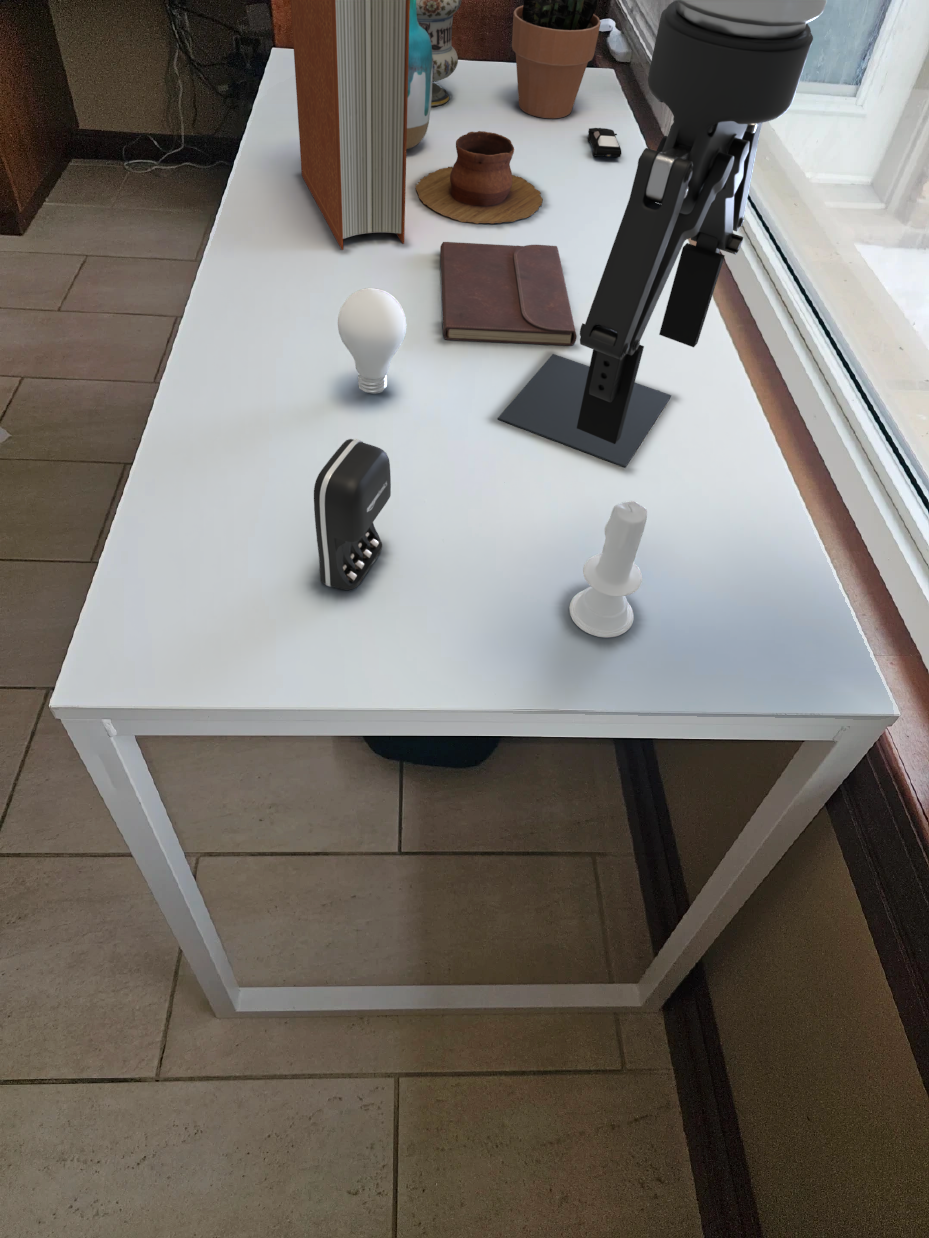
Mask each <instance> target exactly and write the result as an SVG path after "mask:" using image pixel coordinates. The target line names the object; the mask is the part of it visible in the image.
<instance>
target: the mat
mask: <svg viewBox="0 0 929 1238" xmlns="http://www.w3.org/2000/svg"><path fill="white" fill-rule="evenodd" d="M589 367H590V365H586V364H584V363H581V362H578V361H575V360H573V359H569V358H566V357H563V356H561V355H558V354H555V353H552V354H551V355H550V357H549V358H548V359H547V360H546V361H545V362H544V364H542V366H541V367H540V368H539V369H538V370H537V372H535V374H534V375H533V376H532V377H531V379H530V380H529V381H528V382H527V383H526V384H525V386H524V387H522V389H521V390H520V391H519V393H518V394H517V395H516V396H515V397H514V398H513V400H511V402H510V403H509V404H508V405H507V406H506V408H504V410H503V411H502V412H501V414H499V416H498V417H497V420H498V421H500V422H504V423H505V424H509V425H512V426H514V427H516V428H518V429H519V428H520V429H521V430H522V429H523V430H524V431H527V432H530V433H533V434H535V435H537V436H540V437H543V438H546V439H549V440H551V441H554V442H556V443H559V444H561V445H564V446H567V447H569V448H572V449H575V450H577V451H580V452H583V453H585V454H588V455H590V456H593V457H596V458H598V459H602V460H604V461H607V462H609V463H612V464H615V465H617V466H620V467H622V468H627V466H628V464H629V463H630V462H631V460H632V458H633V457H634V455H635V454H636V452H637V450H638V449H639V447H640V446H641V444H642V443H643V441H644V440H645V438H646V437H647V435H648V433H649V432H650V430H651V429H652V427H653V425H654V424H655V423H656V421H657V419H658V418H659V417H660V415H661V413H662V411H664V409H665V407H666V405H667V404H668V402H669V401H670V399H671V397H672V394H669V393H666V392H663V391H660V390H658V389H654V388H652V387H649V386H646V385H644V384H641V383H639V382H638V383H637V382H635V383H634V387H633V391H632V395H631V398H630V402H629V406H628V410H627V414H626V418H625V421H624V425H623V429H622V433H621V437H620V439H619V440H618V441H617V443H616V444H613V443H611V442H608V441H606V440H604V439H601V438H599V437H596V436H594V435H592V434H589V433H587V432H584V431H582V430H580V429H577V423H578V419H579V414H580V409H581V404H582V400H583V395H584V390H585V386H586V381H587V376H588V371H589Z"/></svg>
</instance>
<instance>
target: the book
mask: <svg viewBox="0 0 929 1238" xmlns="http://www.w3.org/2000/svg"><path fill="white" fill-rule="evenodd" d="M290 12H291V14H290V15H291V28H292V30H291V31H292V45H293V60H294V74H295V75H294V78H295V91H296V92H295V93H296V106H297V107H296V108H297V123H298V136H299V137H298V138H299V152H300V153H299V154H300V168H301V177H302V179H303V181H304V183H305V184H306V186H307V188H308V190H309V192H310V193H311V196H312V197H313V199H314V201H315V203H316V205H317V206H318V209H319V211H320V212H321V215H322V216H323V218H324V220H325V222H326V223H327V226H328V227H329V229H330V231H331V233H332V235H333V236H334V238H335V240H336V242H337V244H338V245H339V248H340V250H341V251H343V250H344V240H345V239H348V238H350V237H353V236H358V235H364V234H372V233H373V234H375V233H388V234H395V235H396V236H397V237H398V239H399V240H400V242H401V244H402V245H405V231H406V228H405V227H406V226H405V224H406V223H405V222H406V185H407V184H406V183H407V149H406V146H407V103H408V60H409V17H410V0H290Z"/></svg>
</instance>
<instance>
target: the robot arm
mask: <svg viewBox="0 0 929 1238" xmlns="http://www.w3.org/2000/svg"><path fill="white" fill-rule="evenodd" d="M827 3H828V0H674V1H672V2H671V3H669V4H668V5H667V6H666V8H665V9H664V10H662V12H661V14H660V19H659V23H658V27H657V32H656V37H655V42H654V47H653V52H652V57H651V60H650V66H649V70H648V76H647V84H648V88H649V91H650V92H651V94H652V95H653V97H654V98H655V99H657V101H659V102H660V103H663V104H665V105H666V106H667V108H668V109H669V111H670V112H671V114H672V117H673V119H672V120H673V123H672V124H671V125H670V127H669V131H668V134H667V135H663V137H662V138H661V140H660V142H659V144H658V147H657V149H652V148H649V147H646V148H644V149H643V151H642V152H641V154H640V156H639V158H638V161H637V167H636V171H635V174H634V179H633V183H632V187H631V190H630V195H629V198H628V202H627V205H626V208H625V210H624V212H623V216H622V219H621V221H620V224H619V226H618V230H617V232H616V236H615V238H614V241H613V244H612V247H611V249H610V252H609V255H608V258H607V260H606V264H605V267H604V269H603V271H602V275H601V278H600V281H599V284H598V286H597V289H596V292H595V295H594V298H593V301H592V303H591V306H590V309H589V311H588V314H587V317H586V320H585V323H582V322H581V326H580V329H579V344H580V345H581V346H583V347H586V348H588V349H591V350H592V354H591V356H590V357H591V358H590V361H589V362H590V363H589V371H588V376H587V381H586V386H585V390H584V395H583V400H582V404H581V409H580V414H579V419H578V423H577V429H580V430H582V431H584V432H587V433H589V434H592V435H594V436H596V437H599V438H601V439H604V440H606V441H608V442H611V443H613V444H616V443H617V441H618V440H619V439H620V437H621V433H622V429H623V425H624V421H625V418H626V414H627V410H628V406H629V402H630V398H631V395H632V391H633V387H634V383H636V378H637V375H638V372H639V368H640V363H641V360H642V356H643V353H644V348H645V345H642V344H641V340H642V337H643V335H644V333H645V330H646V329H647V326H648V324H649V322H650V319H651V317H652V315H653V314H654V311H655V309H656V306H657V304H658V301H659V300H660V297H661V295H662V293H663V290H664V288H665V286H666V284H667V281H668V279H669V277H670V274H671V272H672V271H673V268H674V266H675V264H676V261H677V259H678V258H679V260H678V264H677V267H676V270H675V271H676V272H675V274H674V275H675V276H674V278H673V282H672V286H671V289H670V293H669V297H668V301H667V303H666V307H665V312H664V315H663V318H662V323H661V326H660V330H659V333H658V336H661V337H664V338H667V339H669V340H672V341H675V342H677V343H681V344H683V345H686V346H688V347H692V348H695V347H696V346H697V344H698V343H699V339H700V336H701V333H702V330H703V327H704V323H705V320H706V318H707V314H708V312H709V311H708V310H709V307H710V305H711V302H712V298H713V295H714V292H715V289H716V286H717V282H718V278H719V276H720V273H721V269H722V267H723V264H724V259H725V258H726V257H725V256H726V255H724V254H722V253H720V252H721V251H723V252H726V253H729V254H732V255H735V256H736V255H737V254H738V253H739V251H740V249H741V246H742V244H743V241H744V236H743V235H740V234H736V233H737V232H738V231H739V230H740V228H741V227H742V226H743V225H744V223H745V213H746V209H747V204H748V203H747V202H748V198H749V193H750V187H751V183H752V178H753V173H754V172H753V171H754V166H755V163H756V162H755V161H756V156H757V150H758V146H759V141H760V135H761V130H762V126H763V123H768V122H771V121H773V120H776V119H778V118H780V117H781V116H783V115H784V114H786V113H787V111H788V110H789V109H790V108H791V106H792V105H793V102H794V98H795V96H796V93H797V90H798V88H799V83H800V80H801V78H802V74H803V72H804V68H805V65H806V62H807V59H808V57H809V53H810V50H811V47H812V44H813V41H814V36H813V34H812V30H811V26H809V24H808V23H810V22H812V21H814V20H815V19H817V18H818V17H820V16H822V14H823V13H824V12H825V9H826V6H827ZM734 232H736V233H734ZM689 239H690V241H693V242H696V243H695V244H692V243H688V242H686V243H685V241H687V240H689ZM684 243H685V244H684ZM680 252H681V253H680ZM679 254H680V256H679Z"/></svg>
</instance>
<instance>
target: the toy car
mask: <svg viewBox="0 0 929 1238" xmlns="http://www.w3.org/2000/svg"><path fill="white" fill-rule="evenodd" d="M587 133H588V134H587V142H589V143H590V145H591V149H592V156H594V157H608V158H621V156H622V148H621V145H620V143H619V141H618V138H617V136H618V133H615V131H614V129H612V128H611V129H610V128H604V127H591V128H590V127H589V128H588V130H587Z"/></svg>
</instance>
